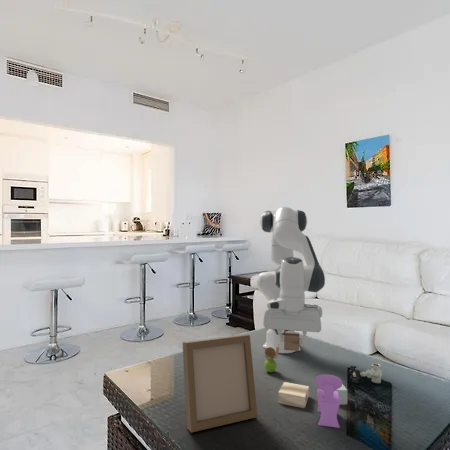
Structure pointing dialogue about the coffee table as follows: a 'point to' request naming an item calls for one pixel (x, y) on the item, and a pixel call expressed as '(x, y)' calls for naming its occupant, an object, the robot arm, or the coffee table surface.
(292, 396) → the beech block
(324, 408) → the toy chair
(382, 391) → the coffee table surface
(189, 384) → the photo frame
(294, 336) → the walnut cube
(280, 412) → the coffee table surface
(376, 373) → the valve
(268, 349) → the snail figurine
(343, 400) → the grey-green cube
